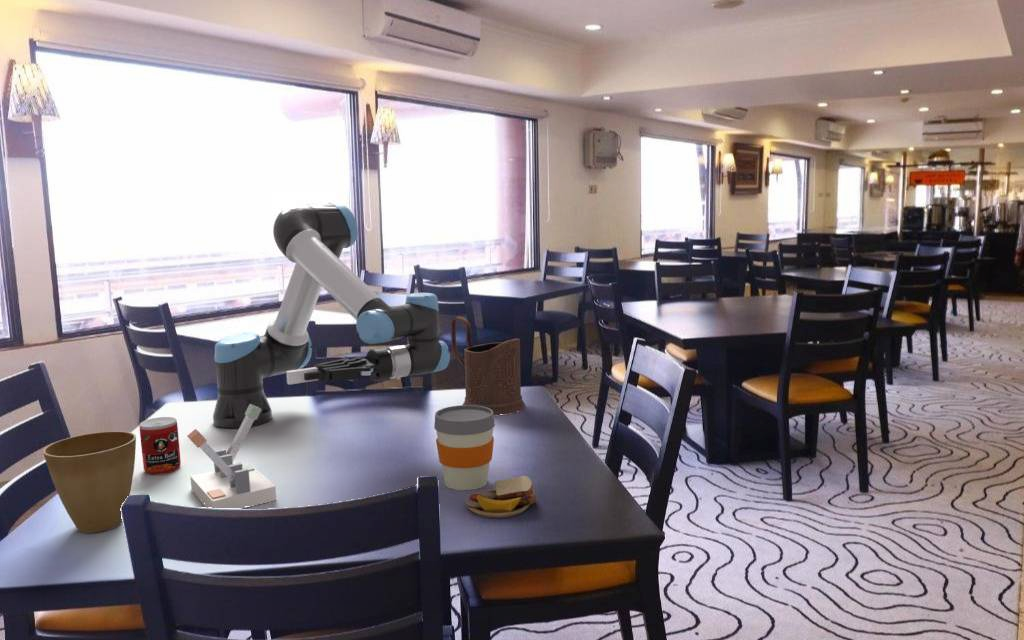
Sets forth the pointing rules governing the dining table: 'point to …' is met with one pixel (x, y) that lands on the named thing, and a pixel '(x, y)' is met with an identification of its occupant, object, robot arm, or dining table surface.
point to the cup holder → (491, 373)
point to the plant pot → (93, 476)
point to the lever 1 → (211, 454)
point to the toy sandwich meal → (503, 498)
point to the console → (232, 486)
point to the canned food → (160, 445)
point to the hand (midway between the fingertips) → (287, 377)
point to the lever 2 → (243, 429)
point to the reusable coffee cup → (465, 445)
